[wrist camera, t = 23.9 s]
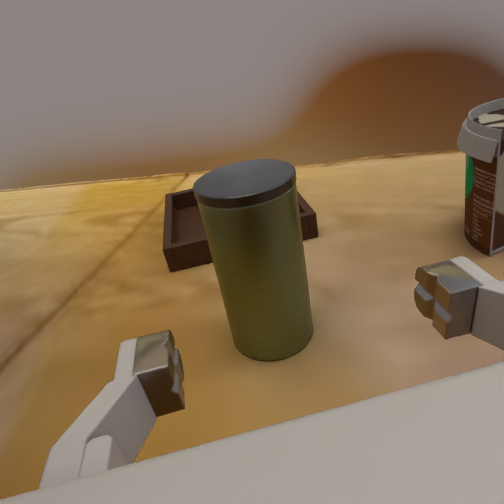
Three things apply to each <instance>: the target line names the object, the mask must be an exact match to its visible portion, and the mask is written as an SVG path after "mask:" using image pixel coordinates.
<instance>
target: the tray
mask: <svg viewBox="0 0 504 504" xmlns="http://www.w3.org/2000/svg"><path fill="white" fill-rule="evenodd" d="M297 196H298V205H299V213H300V222H301V230H302V239H303V240H305V239H309V238H313V237H317V236H318V232H317V231H318V230H317V220H316V213H315V212H314V211H313V209H312V208H311V207H310V206H309V205H308V203H307V202H306V201H305V200H304V199H303V197H302V196H301V195H300V194H299V193H298V191H297ZM163 252H164V255H165V258H166V261H167V264H168V267H169V270H170V272H172V271H176V270H180V269H185V268H189V267H193V266H197V265H201V264H205V263H209V262H213V260H212V256H211V252H210V248H209V244H208V241H207V237H206V233H205V229H204V225H203V222H202V218H201V214H200V210H199V206H198V203H197V200H196V198H195V195H194V191H193V189H189V190H184V191H180V192H176V193H171V194H167V195H166V199H165V217H164V235H163Z"/></svg>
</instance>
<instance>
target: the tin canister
mask: <svg viewBox="0 0 504 504" xmlns="http://www.w3.org/2000/svg"><path fill="white" fill-rule="evenodd" d="M193 191H194V195H195V198H196V200H197V203H198V206H199V210H200V214H201V218H202V222H203V225H204V229H205V233H206V237H207V241H208V244H209V248H210V252H211V256H212V260H213V263H214V267H215V271H216V275H217V279H218V282H219V286H220V290H221V294H222V298H223V302H224V305H225V309H226V313H227V317H228V321H229V324H230V328H231V332H232V336H233V340H234V343H235V345H236V347H237V348H238V349H239V351H241V352H242V353H243V354H244V355H246V356H248V357H250V358H253V359H256V360H263V361H273V360H280V359H284V358H287V357H289V356H292V355H294V354H296V353H297V352H299V351H300V350H301V349H303V348H304V347H305V346H306V344H307V343H308V342H309V340H310V338H311V336H312V332H313V324H312V316H311V307H310V299H309V290H308V281H307V273H306V264H305V256H304V247H303V239H302V230H301V222H300V213H299V205H298V196H297V187H296V171H295V168H294V166H293V165H292V164H290V163H288V162H285V161H281V160H272V159H259V160H249V161H242V162H238V163H234V164H229V165H226V166H223V167H220V168H218V169H215V170H212V171H210V172H208V173H206V174H205V175H203V176H201V177H200V178H199V179H198V180H197V181H196V182H195V183H194V185H193Z"/></svg>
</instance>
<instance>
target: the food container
mask: <svg viewBox="0 0 504 504" xmlns="http://www.w3.org/2000/svg"><path fill="white" fill-rule="evenodd" d="M457 146H458V148H459V149H460V150H461V151H462V152H464V153H465V154H466V182H465V237H466V239H467V240H468V241H469V243H470V244H471V245H472V246H474V247H475V248H476V249H478V250H479V251H481V252H483V253H484V254H486V255H488V256H491V255H493V254H495V253H497V252H500V251H502V250H504V98H503V99H498V100H494V101H491V102H487V103H485V104H482V105H479V106H477V107H475V108H474V109H473V110H471V111H470V112H469V114H468V118H467V119H466V120H465V121H464V122H463V125H462V128H461V131H460V134H459V137H458V140H457Z"/></svg>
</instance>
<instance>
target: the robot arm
mask: <svg viewBox="0 0 504 504" xmlns="http://www.w3.org/2000/svg"><path fill="white" fill-rule="evenodd" d="M415 279H416V280H417V281H418V282H419V284H418V285H417V287H416V288H415V289H414V299H415V302H416V306H417V308H418V309H419V311H420V312H421V313H422V315H423V316H424V317H427V318H429V319H432V320H433V325H432V326H433V327H434V328H435V329H436V330H437V331H438V332H439V333H440V334H441V335H442V336H443V337H444V339H449V338H453V337H457V336H461V335H465V334H470V333H471V335H473V336H475V337H477V338H479V339H481V340H483V341H486V342H488V343H490V344H492V345H494V346H496V347H498V348H500V349H502V350H504V280H503V281H498V280H497V279H495V278H494V277H492V276H491V275H490V274H488V273H487V272H486V271H484V270H483V269H481V268H480V267H479V266H477V265H476V264H475V263H473V262H472V261H470V260H469V259H468V258H466V257H463V256H459V257H456V258H452V259H449V260H446V261H443V262H439V263H435V264H431V265H427V266H423V267H419V268H417V270H416V274H415ZM183 380H184V371H183V365H182V360H181V356H180V353H179V350H178V349H176V348H175V343H174V337H173V335H172V332H171V331H170V330H167V331H163V332H159V333H154V334H150V335H145V336H141V337H138V338H133V339H129V340H125V341H122V342H121V344H120V346H119V352H118V357H117V363H116V368H115V374H114V379H113V381H111V382H108V383H107V385H106V386H105V387H104V388H103V389H102V390H101V391H100V393H99V394H98V395H97V396H96V397H95V398H94V399H93V400H92V402H91V403H90V404H89V405H88V406H87V407H86V408H85V410H84V411H83V412H82V413H81V414H80V415H79V416H78V418H77V419H76V420H75V421H74V422H73V423H72V424H71V426H70V427H69V428H68V429H67V430H66V431H65V432H64V434H63V435H62V436H61V437H60V438H59V439H58V440H57V442H56V443H55V444H54V445H53V446H52V447H51V448H50V452H49V455H48V458H47V461H46V465H45V468H44V471H43V474H42V478H41V481H40V484H39V487H38V489H37V490H34V491H30V492H26V493H23V494H19V495H15V496H12V497H8V498H4V499H1V500H0V504H504V361H503V362H499V363H496V364H492V365H489V366H485V367H481V368H478V369H474V370H471V371H467V372H463V373H460V374H456V375H452V376H449V377H445V378H441V379H438V380H434V381H430V382H427V383H423V384H419V385H416V386H412V387H408V388H405V389H401V390H397V391H394V392H390V393H386V394H383V395H379V396H375V397H372V398H368V399H365V400H361V401H357V402H354V403H350V404H346V405H343V406H339V407H336V408H332V409H328V410H325V411H321V412H317V413H314V414H310V415H307V416H303V417H299V418H296V419H292V420H288V421H285V422H281V423H277V424H274V425H270V426H267V427H263V428H259V429H256V430H252V431H248V432H245V433H241V434H237V435H234V436H230V437H227V438H223V439H219V440H216V441H212V442H208V443H205V444H201V445H197V446H194V447H190V448H187V449H183V450H179V451H176V452H172V453H168V454H165V455H161V456H157V457H154V458H150V459H147V460H143V461H139V462H136V463H133V462H134V460H135V458H136V456H137V455H138V453H139V451H140V449H141V447H142V445H143V444H144V442H145V440H146V438H147V436H148V435H149V433H150V431H151V429H152V427H153V426H154V424H155V422H156V420H157V417H159V416H162V415H166V414H169V413H172V412H176V411H179V410H182V409H185V398H184V389H183V386H182V381H183Z"/></svg>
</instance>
